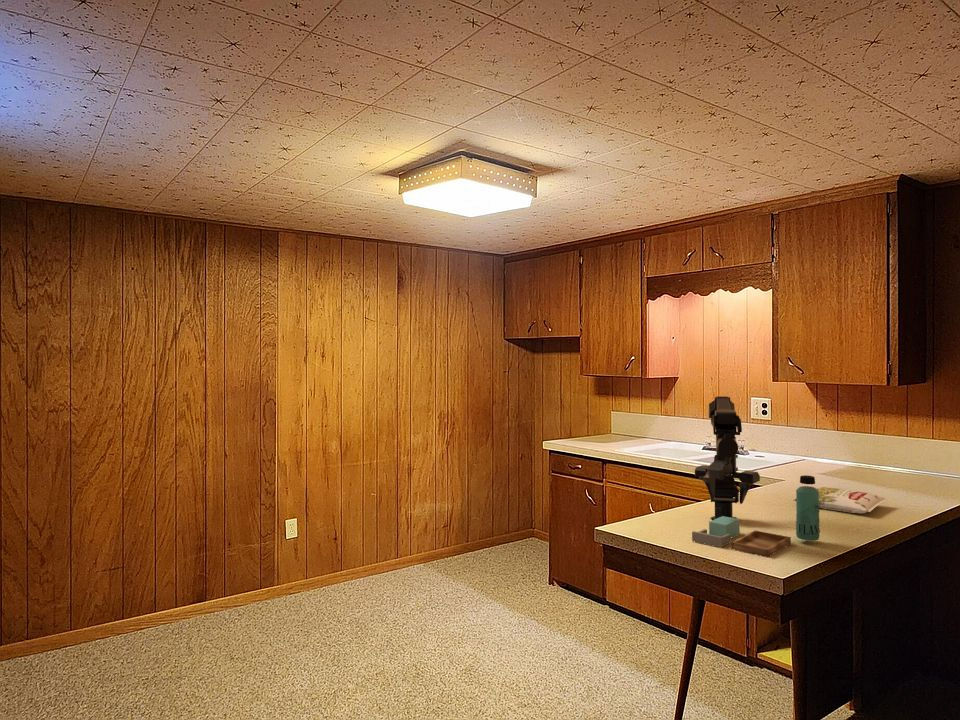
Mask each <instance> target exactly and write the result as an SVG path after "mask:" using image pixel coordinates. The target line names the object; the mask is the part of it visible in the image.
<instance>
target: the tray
mask: <svg viewBox="0 0 960 720" xmlns="http://www.w3.org/2000/svg"><path fill="white" fill-rule="evenodd" d="M791 539H792V537H791V536H787V535H781V534H776V533H771V532H766V531H760V530H753V531H751V532H749V533H746V534H745V535H743V536H740V537H739V538H737V539H735V540H733V541H731V542H730V549H731V550H732V549H735V550H734V551H737V550H739V552H741V551H743V553H746V552H747V553H746V554H751V553H752V554H751V555H755V554H757V555H756V556H760V555H761V557H765V556H766V558H769V557H770V555H771V556H772V555H774V554H775V552H776V553H778V552H779V551H781V550H783V549H784V548H786V547H788V546H789V544H790V545H791V544H792V540H791ZM787 545H788V546H787ZM785 546H786V547H785ZM782 548H783V549H782ZM780 549H781V550H780ZM777 551H778V552H777ZM773 553H774V554H773ZM768 556H769V557H768Z"/></svg>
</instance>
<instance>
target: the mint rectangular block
mask: <svg viewBox="0 0 960 720" xmlns="http://www.w3.org/2000/svg"><path fill="white" fill-rule="evenodd" d="M740 527H741V526H740V518H737V519H736V518H730V517H724V516H722V517H719V518H717V519H715V520H713V519H711V520H709V521H708V534H710V535H715V536H720V537H722V536H724V535H726V534H731V537H733V538H735V537H737V536H736V535H738V534H740V532H741V531H740V530H741V529H740ZM734 536H735V537H734ZM738 536H739V535H738Z"/></svg>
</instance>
